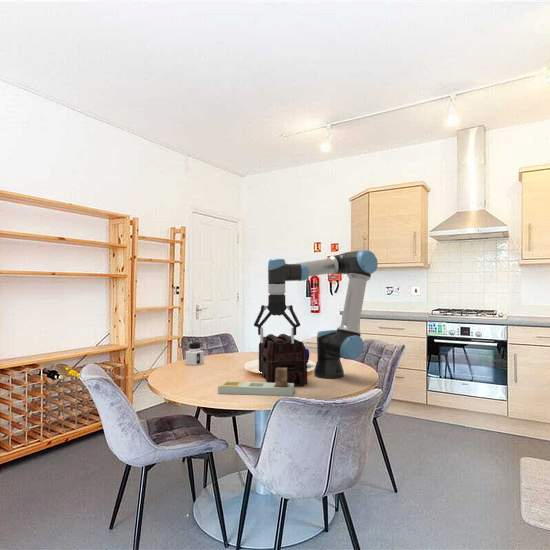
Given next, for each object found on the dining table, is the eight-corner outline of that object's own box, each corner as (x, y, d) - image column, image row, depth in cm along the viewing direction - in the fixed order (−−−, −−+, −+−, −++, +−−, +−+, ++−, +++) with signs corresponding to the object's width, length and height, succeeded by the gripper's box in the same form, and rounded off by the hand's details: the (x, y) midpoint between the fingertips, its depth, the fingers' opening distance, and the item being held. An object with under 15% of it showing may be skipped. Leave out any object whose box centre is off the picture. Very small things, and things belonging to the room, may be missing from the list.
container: (203, 363, 238) (203, 341, 238) (194, 365, 231) (194, 343, 232) (194, 362, 242) (194, 341, 242) (185, 364, 235) (185, 342, 236)
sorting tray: (294, 390, 174) (294, 382, 174) (292, 395, 165) (292, 387, 165) (223, 388, 178) (223, 381, 179) (217, 393, 170) (217, 385, 170)
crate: (309, 386, 181) (309, 340, 182) (269, 388, 177) (269, 342, 178) (291, 370, 215) (291, 332, 216) (257, 372, 211) (257, 333, 212)
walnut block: (287, 388, 172) (287, 367, 172) (286, 391, 168) (285, 369, 168) (277, 388, 173) (276, 367, 173) (275, 390, 168) (275, 369, 169)
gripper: (305, 293, 175) (306, 341, 174) (250, 294, 179) (250, 341, 178) (304, 294, 168) (305, 344, 167) (247, 294, 171) (247, 343, 170)
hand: (277, 342), depth 172 cm, fingers open, 13 cm apart
